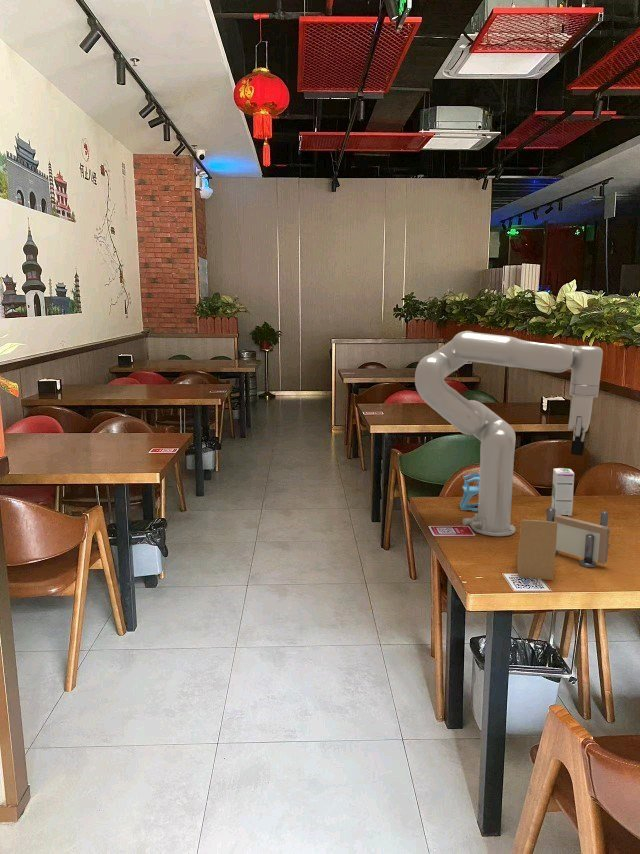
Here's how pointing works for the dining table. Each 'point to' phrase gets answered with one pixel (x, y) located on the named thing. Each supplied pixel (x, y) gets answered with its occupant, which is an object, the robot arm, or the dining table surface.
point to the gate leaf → (581, 537)
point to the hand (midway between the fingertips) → (576, 454)
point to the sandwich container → (537, 549)
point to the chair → (470, 492)
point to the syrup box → (562, 491)
